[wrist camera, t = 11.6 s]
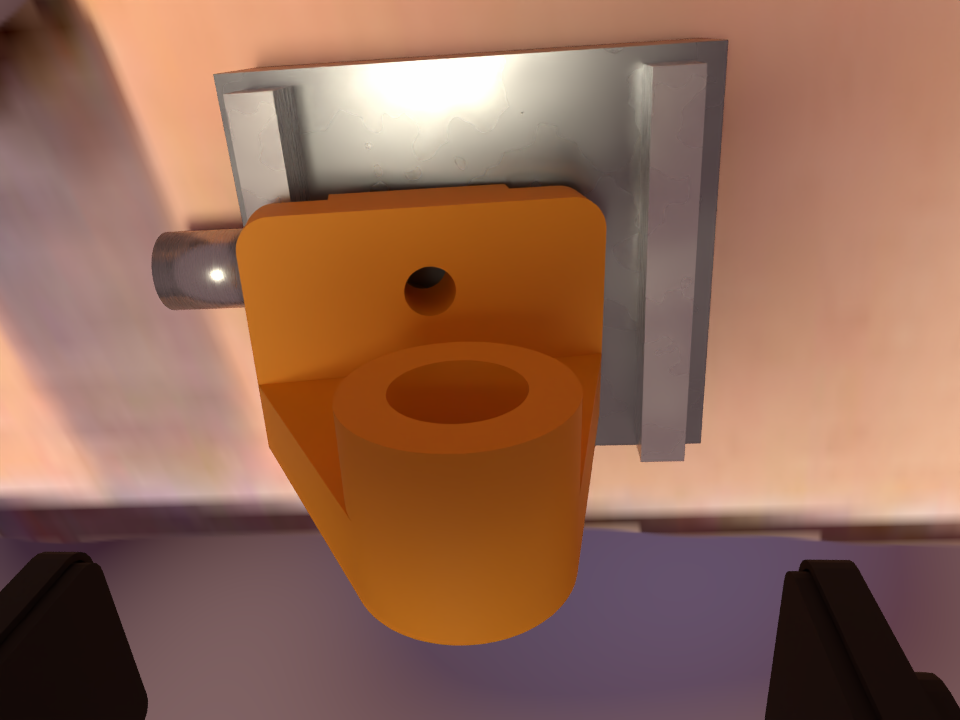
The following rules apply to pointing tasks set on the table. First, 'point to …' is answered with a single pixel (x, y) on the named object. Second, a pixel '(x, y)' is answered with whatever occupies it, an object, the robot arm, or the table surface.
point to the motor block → (508, 185)
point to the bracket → (435, 392)
